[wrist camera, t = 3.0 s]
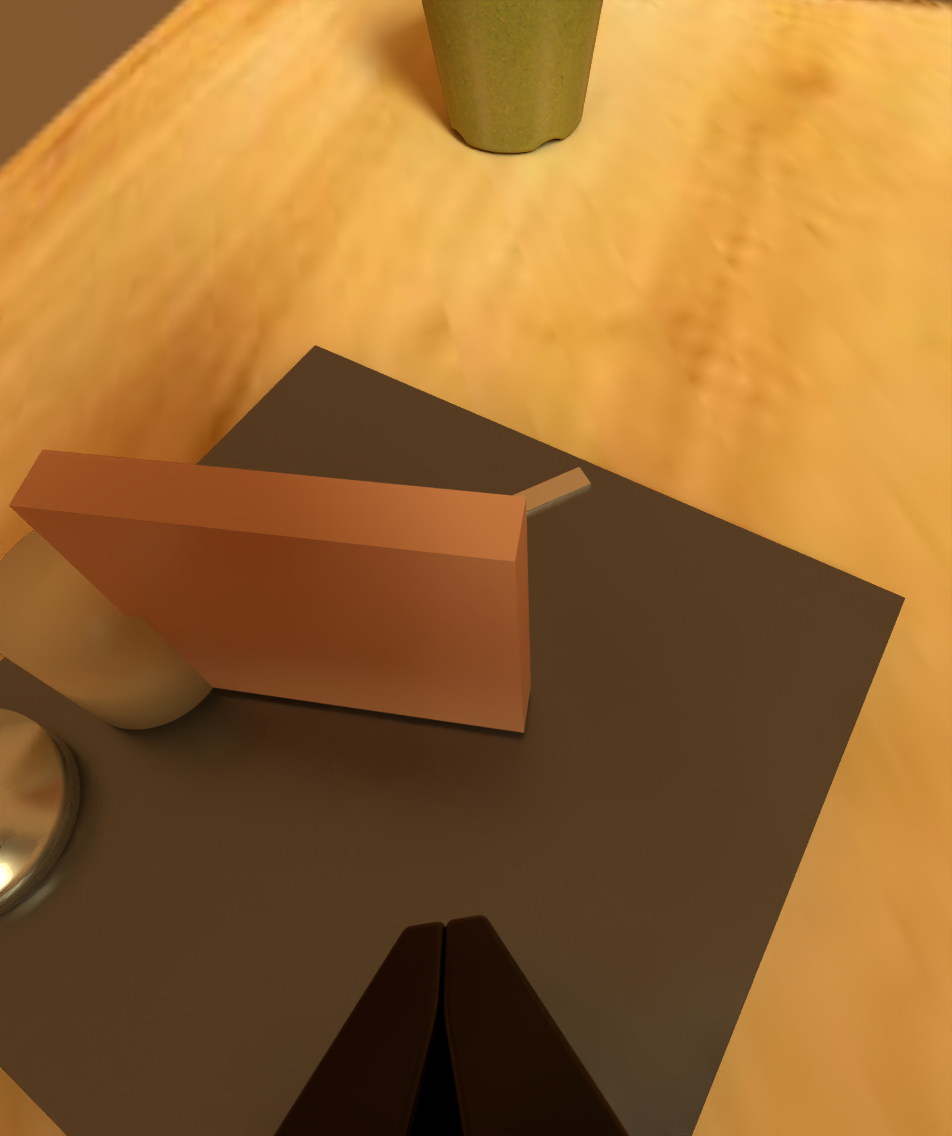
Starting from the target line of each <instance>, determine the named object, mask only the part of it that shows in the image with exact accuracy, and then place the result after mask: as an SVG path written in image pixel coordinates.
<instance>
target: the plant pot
mask: <svg viewBox="0 0 952 1136" xmlns="http://www.w3.org/2000/svg"><path fill="white" fill-rule="evenodd" d="M602 3H603V0H422V4H423V8H424V12H425V17H426V21H427V25H428V29H429V34H430V38H431V43H432V47H433V51H434V56H435V60H436V64H437V69H438V73H439V77H440V82H441V86H442V91H443V95H444V100H445V104H446V109H447V113H448V117H449V122H450V126H451V128H452V129H455V130H456V131H458V133H459V134H460V135H461V136H462V137H463V139H464V140H465V141H466V142H467V143H468V144H469V145H471V146H473V147H476V148H479V149H483V150H486V151H492V152H502V153H520V152H528V151H533V150H535V149H537V148H538V147H539V146H540V145H541V144H543V143H544V142H546V141H548V140H550V139H555V138H558V139H564V138H566V137H567V136H569V135H570V134H571V133H572V132H573V131H574V130H575V129H576V128H577V126H578V125H579V123H580V121H581V118H582V113H583V108H584V102H585V97H586V92H587V86H588V81H589V75H590V69H591V63H592V58H593V52H594V47H595V41H596V35H597V30H598V25H599V19H600V14H601V9H602Z"/></svg>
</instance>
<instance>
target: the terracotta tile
mask: <svg viewBox="0 0 952 1136" xmlns="http://www.w3.org/2000/svg"><path fill="white" fill-rule="evenodd" d="M9 506H10V507H11V508H12V509H13V510H15V511H16V512H17V513H18V514H19V515H20V516H21V517H22V518H23V519H24V520H25V521H26V522H27V523H28V524H29V525H30V526H31V527H32V528H33V529H35V530H34V531H32V532H31V533H29V534H28V535H27V536H25V537H24V538H23V539H22V540H21V541H19V542H18V543H17V544H16V545H15V546H14V547H13V548H12V549H11V550H10V551H9V552H8V553H7V554H6V555H5V557H4V558H3V559H2V560H1V562H0V654H2V655H3V656H5V657H6V658H8V659H9V660H11V661H12V662H14V663H15V664H17V665H18V666H20V667H21V668H23V669H24V670H26V671H27V672H29V673H30V674H32V675H33V676H35V677H36V678H38V679H40V680H41V681H43V682H44V683H46V684H47V685H49V686H50V687H52V688H53V689H55V690H56V691H58V692H59V693H61V694H62V695H64V696H65V697H67V698H68V699H70V700H71V701H73V702H75V703H76V704H78V705H79V706H81V707H82V708H84V709H85V710H87V711H88V712H90V713H91V714H93V715H94V716H96V717H97V718H99V719H100V720H102V721H104V722H105V723H107V724H110V725H112V726H115V727H118V728H123V729H132V730H138V729H148V728H154V727H157V726H161V725H164V724H167V723H169V722H171V721H174V720H176V719H177V718H179V717H181V716H183V715H185V714H186V713H187V712H189V711H190V710H192V709H193V708H194V707H195V706H197V705H198V704H199V703H200V702H201V701H202V700H203V699H204V698H205V697H206V696H207V695H208V694H209V693H210V691H211V690H212V689H213V687H214V688H221V689H227V690H234V691H241V692H248V693H255V694H262V695H269V696H275V697H282V698H289V699H296V700H303V701H310V702H317V703H323V704H330V705H337V706H344V707H351V708H358V709H365V710H371V711H378V712H385V713H392V714H399V715H406V716H413V717H419V718H426V719H433V720H440V721H447V722H454V723H461V724H468V725H474V726H481V727H488V728H495V729H502V730H509V731H516V732H522V733H524V729H525V722H526V715H527V708H528V701H529V694H530V687H531V682H530V640H529V598H528V556H527V514H526V497H521V496H511V495H501V494H491V493H481V492H470V491H460V490H450V489H440V488H429V487H419V486H409V485H399V484H388V483H378V482H368V481H358V480H347V479H337V478H327V477H317V476H306V475H296V474H286V473H276V472H265V471H255V470H245V469H235V468H224V467H214V466H204V465H194V464H183V463H173V462H163V461H153V460H142V459H132V458H122V457H112V456H101V455H91V454H81V453H71V452H60V451H50V450H42V451H41V453H40V455H39V457H38V458H37V460H36V462H35V463H34V465H33V467H32V468H31V470H30V472H29V473H28V475H27V477H26V478H25V480H24V482H23V483H22V485H21V487H20V488H19V490H18V492H17V493H16V495H15V497H14V498H13V500H12V502H11V503H10V505H9Z"/></svg>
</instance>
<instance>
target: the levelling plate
mask: <svg viewBox="0 0 952 1136" xmlns="http://www.w3.org/2000/svg"><path fill="white" fill-rule="evenodd" d="M197 465H204V466H214V467H224V468H235V469H245V470H255V471H265V472H276V473H286V474H296V475H306V476H317V477H327V478H337V479H347V480H358V481H368V482H378V483H388V484H399V485H409V486H419V487H429V488H440V489H450V490H460V491H470V492H481V493H491V494H501V495H511V496H521V497H526V514H527V556H528V598H529V640H530V682H531V687H530V694H529V701H528V708H527V715H526V722H525V729H524V733H522V732H516V731H509V730H502V729H495V728H488V727H481V726H474V725H468V724H461V723H454V722H447V721H440V720H433V719H426V718H419V717H413V716H406V715H399V714H392V713H385V712H378V711H371V710H365V709H358V708H351V707H344V706H337V705H330V704H323V703H317V702H310V701H303V700H296V699H289V698H282V697H275V696H269V695H262V694H255V693H248V692H241V691H234V690H227V689H221V688H214V687H213V689H212V690H211V691H210V693H209V694H208V695H207V696H206V697H205V698H204V699H203V700H202V701H201V702H200V703H199V704H198V705H197V706H195V707H194V708H193V709H192V710H190V711H189V712H187V713H186V714H185V715H183V716H181V717H179V718H177V719H176V720H174V721H171V722H169V723H167V724H164V725H161V726H157V727H154V728H148V729H138V730H132V729H123V728H118V727H115V726H112V725H110V724H107V723H105V722H104V721H102V720H100V719H99V718H97V717H96V716H94V715H93V714H91V713H90V712H88V711H87V710H85V709H84V708H82V707H81V706H79V705H78V704H76V703H75V702H73V701H71V700H70V699H68V698H67V697H65V696H64V695H62V694H61V693H59V692H58V691H56V690H55V689H53V688H52V687H50V686H49V685H47V684H46V683H44V682H43V681H41V680H40V679H38V678H36V677H35V676H33V675H32V674H30V673H29V672H27V671H26V670H24V669H23V668H21V667H20V666H18V665H17V664H15V663H14V662H12V661H11V660H9V659H8V658H6V657H5V658H4V659H3V660H2V661H1V662H0V1067H1V1068H2V1069H3V1070H4V1071H5V1072H6V1073H7V1074H8V1075H9V1076H10V1077H11V1078H12V1079H13V1080H14V1081H15V1082H16V1083H17V1084H18V1085H19V1086H20V1087H21V1089H22V1090H23V1091H24V1092H25V1093H26V1094H27V1095H28V1096H29V1097H30V1098H31V1099H32V1100H33V1101H34V1102H35V1103H36V1104H37V1105H38V1106H39V1107H40V1108H41V1109H42V1110H43V1111H44V1112H45V1113H46V1114H47V1115H48V1116H49V1117H50V1118H51V1119H52V1120H53V1121H54V1123H55V1124H56V1125H57V1126H58V1127H59V1128H60V1129H61V1130H62V1131H63V1132H64V1133H65V1134H66V1135H67V1136H274V1134H275V1132H276V1131H277V1129H278V1128H279V1126H280V1125H281V1123H282V1121H283V1120H284V1118H285V1117H286V1115H287V1113H288V1112H289V1110H290V1109H291V1107H292V1106H293V1104H294V1102H295V1101H296V1099H297V1098H298V1096H299V1094H300V1093H301V1091H302V1090H303V1088H304V1087H305V1085H306V1083H307V1082H308V1080H309V1079H310V1077H311V1075H312V1074H313V1072H314V1071H315V1069H316V1068H317V1066H318V1064H319V1063H320V1061H321V1060H322V1058H323V1056H324V1055H325V1053H326V1052H327V1050H328V1049H329V1047H330V1045H331V1044H332V1042H333V1041H334V1039H335V1037H336V1036H337V1034H338V1033H339V1031H340V1030H341V1028H342V1026H343V1025H344V1023H345V1022H346V1020H347V1018H348V1017H349V1015H350V1014H351V1012H352V1011H353V1009H354V1007H355V1006H356V1004H357V1003H358V1001H359V999H360V998H361V996H362V995H363V993H364V992H365V990H366V988H367V987H368V985H369V984H370V982H371V980H372V979H373V977H374V976H375V974H376V973H377V971H378V969H379V968H380V966H381V965H382V963H383V961H384V960H385V958H386V957H387V955H388V954H389V952H390V950H391V949H392V947H393V946H394V944H395V942H396V941H397V939H398V938H399V936H400V935H401V933H402V932H403V930H404V929H405V928H407V927H408V926H411V925H418V924H424V923H431V922H437V921H440V922H442V923H444V925H445V926H446V925H447V923H448V922H449V921H450V920H452V919H457V918H463V917H470V916H476V915H483V916H485V917H486V918H487V919H488V920H489V921H490V923H491V924H492V926H493V927H494V929H495V931H496V932H497V934H498V935H499V937H500V938H501V940H502V941H503V943H504V944H505V946H506V947H507V949H508V950H509V952H510V953H511V955H512V956H513V958H514V960H515V961H516V963H517V964H518V966H519V967H520V969H521V970H522V972H523V973H524V975H525V976H526V978H527V979H528V981H529V982H530V984H531V985H532V987H533V989H534V990H535V992H536V993H537V995H538V996H539V998H540V999H541V1001H542V1002H543V1004H544V1005H545V1007H546V1008H547V1010H548V1011H549V1013H550V1014H551V1016H552V1018H553V1019H554V1021H555V1022H556V1024H557V1025H558V1027H559V1028H560V1030H561V1031H562V1033H563V1034H564V1036H565V1037H566V1039H567V1040H568V1042H569V1043H570V1045H571V1047H572V1048H573V1050H574V1051H575V1053H576V1054H577V1056H578V1057H579V1059H580V1060H581V1062H582V1063H583V1065H584V1066H585V1068H586V1069H587V1071H588V1072H589V1074H590V1076H591V1077H592V1079H593V1080H594V1082H595V1083H596V1085H597V1086H598V1088H599V1089H600V1091H601V1092H602V1094H603V1095H604V1097H605V1098H606V1100H607V1101H608V1103H609V1105H610V1106H611V1108H612V1109H613V1111H614V1112H615V1114H616V1115H617V1117H618V1118H619V1120H620V1121H621V1123H622V1124H623V1126H624V1127H625V1129H626V1130H627V1132H628V1134H629V1135H630V1136H692V1134H693V1131H694V1129H695V1126H696V1124H697V1121H698V1119H699V1116H700V1114H701V1111H702V1109H703V1106H704V1104H705V1101H706V1098H707V1096H708V1093H709V1091H710V1088H711V1086H712V1083H713V1081H714V1078H715V1076H716V1073H717V1071H718V1068H719V1066H720V1063H721V1061H722V1058H723V1056H724V1053H725V1051H726V1048H727V1046H728V1043H729V1041H730V1038H731V1035H732V1033H733V1030H734V1028H735V1025H736V1023H737V1020H738V1018H739V1015H740V1013H741V1010H742V1008H743V1005H744V1003H745V1000H746V998H747V995H748V993H749V990H750V988H751V985H752V983H753V980H754V978H755V975H756V973H757V970H758V967H759V965H760V962H761V960H762V957H763V955H764V952H765V950H766V947H767V945H768V942H769V940H770V937H771V935H772V932H773V930H774V927H775V925H776V922H777V920H778V917H779V915H780V912H781V910H782V907H783V905H784V902H785V899H786V897H787V894H788V892H789V889H790V887H791V884H792V882H793V879H794V877H795V874H796V872H797V869H798V867H799V864H800V862H801V859H802V857H803V854H804V852H805V849H806V847H807V844H808V842H809V839H810V837H811V834H812V831H813V829H814V826H815V824H816V821H817V819H818V816H819V814H820V811H821V809H822V806H823V804H824V801H825V799H826V796H827V794H828V791H829V789H830V786H831V784H832V781H833V779H834V776H835V774H836V771H837V769H838V766H839V763H840V761H841V758H842V756H843V753H844V751H845V748H846V746H847V743H848V741H849V738H850V736H851V733H852V731H853V728H854V726H855V723H856V721H857V718H858V716H859V713H860V711H861V708H862V706H863V703H864V701H865V698H866V695H867V693H868V690H869V688H870V685H871V683H872V680H873V678H874V675H875V673H876V670H877V668H878V665H879V663H880V660H881V658H882V655H883V653H884V650H885V648H886V645H887V643H888V640H889V638H890V635H891V633H892V630H893V627H894V625H895V622H896V620H897V617H898V615H899V612H900V610H901V607H902V605H903V602H904V600H905V598H904V597H902V596H899V595H897V594H895V593H892V592H890V591H888V590H885V589H883V588H881V587H878V586H876V585H874V584H871V583H869V582H867V581H864V580H862V579H860V578H857V577H855V576H853V575H850V574H848V573H846V572H843V571H841V570H839V569H836V568H834V567H832V566H829V565H827V564H825V563H822V562H820V561H818V560H815V559H813V558H811V557H808V556H806V555H804V554H801V553H799V552H797V551H794V550H792V549H790V548H787V547H785V546H783V545H780V544H778V543H776V542H773V541H771V540H769V539H766V538H764V537H762V536H759V535H757V534H755V533H752V532H750V531H748V530H745V529H743V528H741V527H738V526H736V525H734V524H731V523H729V522H727V521H724V520H722V519H720V518H717V517H715V516H713V515H710V514H708V513H706V512H703V511H701V510H699V509H696V508H694V507H692V506H689V505H687V504H685V503H682V502H680V501H678V500H675V499H673V498H671V497H668V496H666V495H664V494H661V493H659V492H657V491H654V490H652V489H650V488H647V487H645V486H643V485H640V484H638V483H636V482H633V481H631V480H629V479H626V478H624V477H622V476H619V475H617V474H615V473H612V472H610V471H608V470H605V469H603V468H601V467H598V466H596V465H594V464H591V463H589V462H587V461H584V460H582V459H580V458H577V457H575V456H573V455H570V454H568V453H566V452H563V451H561V450H559V449H556V448H554V447H552V446H549V445H547V444H545V443H542V442H540V441H538V440H535V439H533V438H531V437H528V436H526V435H524V434H521V433H519V432H517V431H514V430H512V429H510V428H507V427H505V426H503V425H500V424H498V423H496V422H493V421H491V420H489V419H486V418H484V417H482V416H479V415H477V414H475V413H472V412H470V411H468V410H465V409H463V408H461V407H458V406H456V405H454V404H451V403H449V402H447V401H444V400H442V399H440V398H437V397H435V396H433V395H430V394H428V393H426V392H423V391H421V390H419V389H416V388H414V387H412V386H409V385H407V384H405V383H402V382H400V381H398V380H395V379H393V378H391V377H388V376H386V375H384V374H381V373H379V372H377V371H374V370H372V369H370V368H367V367H365V366H363V365H360V364H358V363H356V362H353V361H351V360H349V359H346V358H344V357H342V356H339V355H337V354H335V353H332V352H330V351H328V350H325V349H323V348H321V347H318V346H316V345H315V346H314V347H313V348H312V349H311V350H310V351H309V352H308V353H307V354H306V355H305V356H304V357H303V358H302V359H301V360H300V361H299V362H298V363H297V364H296V365H295V366H294V367H293V368H292V369H291V370H290V371H289V372H288V373H287V374H286V375H285V376H284V377H283V378H282V379H281V380H280V381H279V382H278V383H277V384H276V385H275V386H274V387H273V388H272V389H271V390H270V391H269V392H268V393H267V394H266V395H265V396H264V397H263V398H262V399H261V400H260V401H259V402H258V403H257V404H256V405H255V406H254V407H253V408H252V409H251V410H250V411H249V412H248V413H247V414H246V415H245V416H244V417H243V418H242V419H241V420H240V421H239V422H238V423H237V424H236V425H235V426H234V427H233V428H232V429H231V430H230V431H229V432H228V433H227V435H226V436H225V437H224V438H223V439H222V440H221V441H220V442H219V443H218V444H217V445H216V446H215V447H214V448H213V449H212V450H211V451H210V452H209V453H208V454H207V455H206V456H205V457H204V458H203V459H202V460H201V461H200V462H199V463H198V464H197Z"/></svg>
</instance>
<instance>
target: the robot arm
mask: <svg viewBox="0 0 952 1136" xmlns="http://www.w3.org/2000/svg"><path fill="white" fill-rule="evenodd" d="M274 1136H630V1135H629V1134H628V1132H627V1130H626V1129H625V1127H624V1126H623V1124H622V1123H621V1121H620V1120H619V1118H618V1117H617V1115H616V1114H615V1112H614V1111H613V1109H612V1108H611V1106H610V1105H609V1103H608V1101H607V1100H606V1098H605V1097H604V1095H603V1094H602V1092H601V1091H600V1089H599V1088H598V1086H597V1085H596V1083H595V1082H594V1080H593V1079H592V1077H591V1076H590V1074H589V1072H588V1071H587V1069H586V1068H585V1066H584V1065H583V1063H582V1062H581V1060H580V1059H579V1057H578V1056H577V1054H576V1053H575V1051H574V1050H573V1048H572V1047H571V1045H570V1043H569V1042H568V1040H567V1039H566V1037H565V1036H564V1034H563V1033H562V1031H561V1030H560V1028H559V1027H558V1025H557V1024H556V1022H555V1021H554V1019H553V1018H552V1016H551V1014H550V1013H549V1011H548V1010H547V1008H546V1007H545V1005H544V1004H543V1002H542V1001H541V999H540V998H539V996H538V995H537V993H536V992H535V990H534V989H533V987H532V985H531V984H530V982H529V981H528V979H527V978H526V976H525V975H524V973H523V972H522V970H521V969H520V967H519V966H518V964H517V963H516V961H515V960H514V958H513V956H512V955H511V953H510V952H509V950H508V949H507V947H506V946H505V944H504V943H503V941H502V940H501V938H500V937H499V935H498V934H497V932H496V931H495V929H494V927H493V926H492V924H491V923H490V921H489V920H488V919H487V918H486V917H485V916H483V915H476V916H470V917H463V918H457V919H452V920H450V921H449V922H448V923H447V925H446V926H445V925H444V923H442V922H440V921H437V922H431V923H424V924H418V925H411V926H408V927H407V928H405V929H404V930H403V932H402V933H401V935H400V936H399V938H398V939H397V941H396V942H395V944H394V946H393V947H392V949H391V950H390V952H389V954H388V955H387V957H386V958H385V960H384V961H383V963H382V965H381V966H380V968H379V969H378V971H377V973H376V974H375V976H374V977H373V979H372V980H371V982H370V984H369V985H368V987H367V988H366V990H365V992H364V993H363V995H362V996H361V998H360V999H359V1001H358V1003H357V1004H356V1006H355V1007H354V1009H353V1011H352V1012H351V1014H350V1015H349V1017H348V1018H347V1020H346V1022H345V1023H344V1025H343V1026H342V1028H341V1030H340V1031H339V1033H338V1034H337V1036H336V1037H335V1039H334V1041H333V1042H332V1044H331V1045H330V1047H329V1049H328V1050H327V1052H326V1053H325V1055H324V1056H323V1058H322V1060H321V1061H320V1063H319V1064H318V1066H317V1068H316V1069H315V1071H314V1072H313V1074H312V1075H311V1077H310V1079H309V1080H308V1082H307V1083H306V1085H305V1087H304V1088H303V1090H302V1091H301V1093H300V1094H299V1096H298V1098H297V1099H296V1101H295V1102H294V1104H293V1106H292V1107H291V1109H290V1110H289V1112H288V1113H287V1115H286V1117H285V1118H284V1120H283V1121H282V1123H281V1125H280V1126H279V1128H278V1129H277V1131H276V1132H275V1134H274Z"/></svg>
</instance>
